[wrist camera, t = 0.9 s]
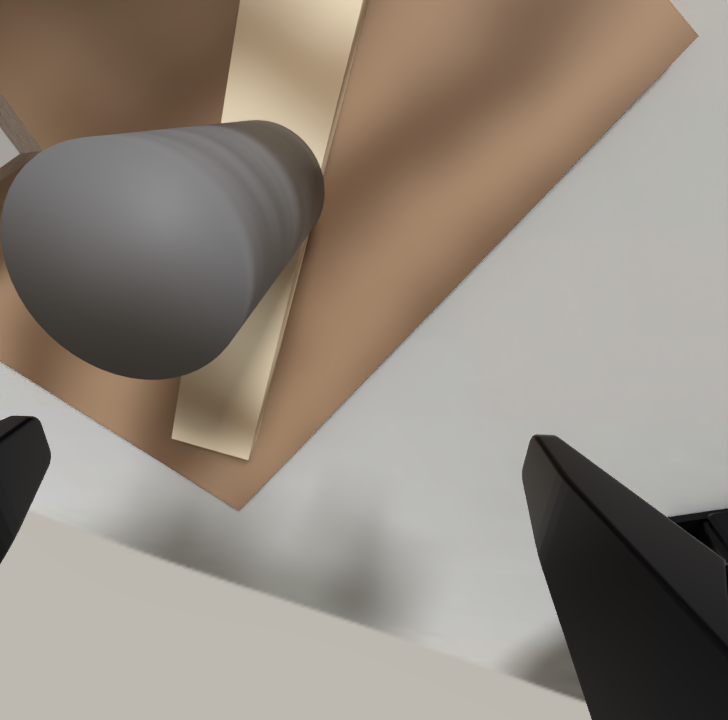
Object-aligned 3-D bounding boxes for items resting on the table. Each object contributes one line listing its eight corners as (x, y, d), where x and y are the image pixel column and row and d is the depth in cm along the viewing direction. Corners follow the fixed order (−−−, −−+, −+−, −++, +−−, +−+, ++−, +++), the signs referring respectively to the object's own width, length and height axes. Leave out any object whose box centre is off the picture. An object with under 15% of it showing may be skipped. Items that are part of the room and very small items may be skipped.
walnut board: (683, 39, 18) (698, 35, 17) (243, 498, 28) (238, 510, 27) (45, -724, 12) (16, -791, 11) (-202, 213, 23) (-227, 218, 22)
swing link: (284, -308, 14) (-84, -1583, 3) (452, -241, 14) (591, -1211, 4) (172, 415, 25) (5, 641, 14) (268, 443, 25) (173, 683, 15)
